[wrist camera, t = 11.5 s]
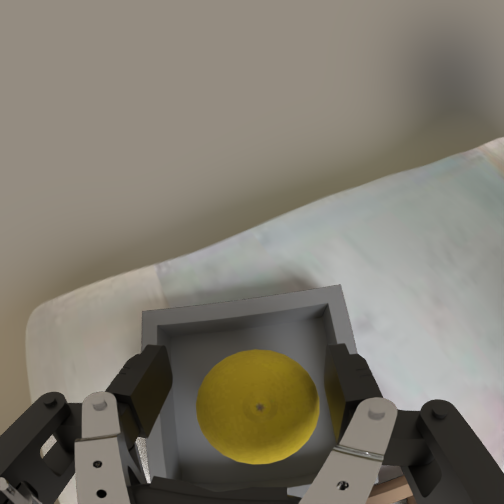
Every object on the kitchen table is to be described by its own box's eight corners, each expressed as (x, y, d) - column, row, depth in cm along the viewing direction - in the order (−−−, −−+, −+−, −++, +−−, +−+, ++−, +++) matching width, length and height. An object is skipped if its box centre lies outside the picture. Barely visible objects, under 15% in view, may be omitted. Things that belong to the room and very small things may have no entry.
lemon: (195, 384, 16) (154, 362, 9) (278, 350, 17) (298, 304, 10) (231, 464, 13) (217, 503, 7) (317, 427, 15) (367, 435, 8)
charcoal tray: (332, 303, 19) (340, 284, 16) (363, 473, 13) (378, 482, 10) (159, 325, 19) (142, 311, 17) (172, 493, 13) (154, 504, 10)
